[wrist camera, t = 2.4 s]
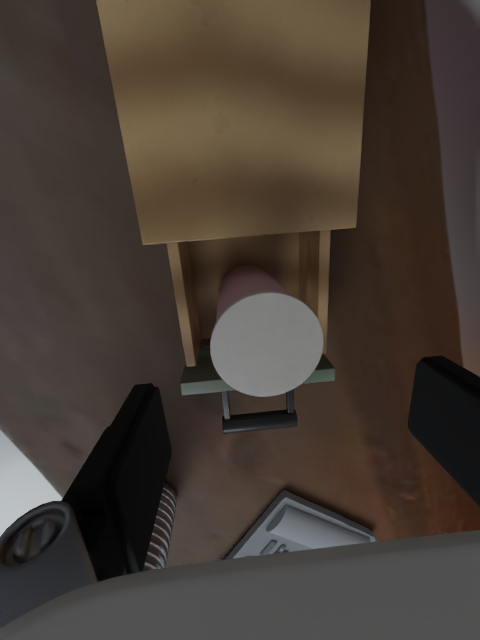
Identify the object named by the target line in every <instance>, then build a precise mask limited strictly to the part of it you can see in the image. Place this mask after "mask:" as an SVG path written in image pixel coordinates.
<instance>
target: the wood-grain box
mask: <svg viewBox="0 0 480 640" xmlns="http://www.w3.org/2000/svg"><path fill="white" fill-rule="evenodd" d="M96 2H97V7H98V13H99V18H100V23H101V28H102V34H103V39H104V44H105V49H106V55H107V60H108V65H109V70H110V76H111V81H112V86H113V91H114V97H115V102H116V107H117V112H118V118H119V123H120V128H121V133H122V139H123V144H124V149H125V154H126V160H127V165H128V170H129V175H130V181H131V186H132V191H133V196H134V202H135V207H136V212H137V217H138V223H139V228H140V233H141V238H142V244H143V245H151V244H163V243H175V242H187V241H199V240H211V239H224V238H236V237H248V236H260V235H272V234H285V233H297V232H309V231H321V230H333V229H345V228H355V227H356V222H357V207H358V191H359V176H360V160H361V145H362V129H363V114H364V98H365V83H366V67H367V52H368V36H369V21H370V5H371V0H96Z"/></svg>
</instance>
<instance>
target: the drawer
mask: <svg viewBox="0 0 480 640" xmlns="http://www.w3.org/2000/svg"><path fill="white" fill-rule="evenodd" d="M330 231H331V230H321V231H309V232H297V233H285V234H272V235H260V236H248V237H236V238H224V239H211V240H199V241H187V242H175V243H167V250H168V256H169V262H170V268H171V274H172V280H173V287H174V293H175V299H176V305H177V311H178V318H179V324H180V330H181V336H182V342H183V348H184V355H185V361H186V364H185V368H184V371H183V375H182V378H181V382H180V387H181V393H182V395H192V394H203V393H213V392H221V396H222V404H223V413H224V416H223V417H222V425H223V433H224V434H229V433H238V432H248V431H258V430H267V429H277V428H287V427H296V426H297V424H298V422H297V415H296V411H295V409H294V389H292V390H290V391H288V392H286V405H287V410H277V411H267V412H258V413H248V414H238V415H230V406H229V397H228V391H233V390H236V389H234V388H232V387H231V386H230V385H228V384H227V383H226V382H225V381H224V380H223V379H222V378H221V377H220V375H219V374H218V373H217V371H216V369H215V367H214V365H213V362H212V358H211V353H210V346H209V347H200V344H201V339H211V335H212V331H213V328H214V326H215V323H216V317H217V306H218V294H219V287H220V284H221V282H222V280H223V278H224V277H225V276H226V275H227V274H228V273H229V272H230V271H231V270H233V269H235V268H237V267H240V266H244V265H253V266H257V267H260V268H262V269H264V270H265V271H267V272H268V273H269V274H270V275H271V276H272V277H273V278H274V279H275V280H276V281H277V282H278V283H279V284H280V285H281V286H282V287H283V288H284V289H285V290H286V291H287V292H288V293H289V294H290V295H292V296H294V297H296V298H298V299H299V300H301V301H302V302H304V303H305V304H306V305H307V306H308V307H309V308H310V309H311V310H312V311H313V312H314V314H315V315H316V317H317V318H318V320H319V322H320V325H321V328H322V332H323V351H322V355H321V358H320V360H319V363H318V365H317V367H316V368H315V370H314V371H313V373H312V374H311V375H310V376H309V377H308V378H307V379H306V380H305V381H304V382H303V383H302V384H304V383H314V382H324V381H334V379H335V368H334V366H333V365H332V364H331V363H330V361H329V360H328V359H327V358H326V356H325V355H324V354H326V347H327V318H328V289H329V260H330Z"/></svg>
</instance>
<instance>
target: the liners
mask: <svg viewBox="0 0 480 640" xmlns="http://www.w3.org/2000/svg"><path fill="white" fill-rule="evenodd" d="M322 351H323V332H322V328H321V325H320V322H319V320H318V318H317V317H316V315H315V314H314V312H313V311H312V310H311V309H310V308H309V307H308V306H307V305H306V304H305V303H304V302H302V301H301V300H299V299H298V298H296V297H294V296H292V295H290V294H289V293H288V292H287V291H286V290H285V289H284V288H283V287H282V286H281V285H280V284H279V283H278V282H277V281H276V280H275V279H274V278H273V277H272V276H271V275H270V274H269V273H268V272H267V271H265V270H264V269H262V268H260V267H257V266H253V265H244V266H240V267H237V268H235V269H233V270H231V271H230V272H229V273H228V274H227V275H226V276H225V277H224V278H223V280H222V282H221V284H220V287H219V294H218V306H217V317H216V323H215V326H214V328H213V331H212V335H211V342H210V353H211V358H212V362H213V365H214V367H215V369H216V371H217V373H218V374H219V375H220V377H221V378H222V379H223V380H224V381H225V382H226V383H227V384H228V385H230V386H231V387H232V388H234V389H236V390H238V391H240V392H242V393H245V394H248V395H253V396H262V397H264V396H274V395H279V394H283V393H285V392H288V391H290V390H292V389H294V388H296V387H297V386H299V385H300V384H302V383H303V382H304V381H305V380H306V379H307V378H308V377H309V376H310V375H311V374H312V373H313V371H314V370H315V368H316V367H317V365H318V363H319V360H320V358H321V355H322Z"/></svg>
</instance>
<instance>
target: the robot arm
mask: <svg viewBox="0 0 480 640" xmlns="http://www.w3.org/2000/svg"><path fill="white" fill-rule="evenodd" d="M408 427H409V430H410V432H411V433H412V434H413V436H414V437H415V438H416V439H417V440H418V441H419V442H420V443H421V444H422V445H423V446H424V447H425V448H426V450H427V451H428V452H429V453H430V454H431V455H432V456H433V457H434V458H435V459H436V460H437V461H438V462H439V464H440V465H441V466H442V467H443V468H444V469H445V470H446V471H447V472H448V473H449V474H450V475H451V476H452V478H453V479H454V480H455V481H456V482H457V483H458V484H459V485H460V486H461V487H462V488H463V489H464V490H465V492H466V493H467V494H468V495H469V496H470V497H471V498H472V499H473V500H474V501H475V502H476V503H477V504H478V506H479V507H480V377H479V376H477V375H475V374H473V373H472V372H470V371H468V370H466V369H465V368H463V367H461V366H459V365H458V364H456V363H454V362H452V361H451V360H449V359H447V358H445V357H443V356H432V357H424V358H422V359H421V360H420V362H418V363H417V366H416V371H415V378H414V385H413V391H412V398H411V405H410V411H409V418H408ZM170 459H171V445H170V440H169V435H168V430H167V425H166V420H165V415H164V410H163V405H162V400H161V395H160V390H159V388H158V387H154V386H153V384H152V383H149V384H138V385H135V386H134V387H133V388H132V390H131V392H130V394H129V395H128V397H127V399H126V400H125V402H124V404H123V405H122V407H121V409H120V410H119V412H118V414H117V415H116V417H115V419H114V420H113V422H112V424H111V425H110V426H109V427H107V428H106V429H105V431H104V432H103V434H102V435H101V437H100V439H99V440H98V442H97V444H96V445H95V447H94V448H93V450H92V452H91V453H90V455H89V457H88V458H87V460H86V462H85V463H84V465H83V466H82V468H81V470H80V471H79V473H78V475H77V476H76V478H75V479H74V481H73V483H72V484H71V486H70V488H69V489H68V491H67V493H66V494H65V496H64V497H63V499H62V501H52V502H49V503H45V504H42V505H40V506H38V507H36V508H34V509H32V510H30V511H28V512H27V513H25V514H24V515H23V516H21V517H20V518H18V519H17V520H16V521H15V522H14V523H13V524H12V525H11V526H10V527H8V528H7V529H6V530H5V532H4V533H3V534H2V535H1V537H0V640H480V530H477V531H467V532H458V533H449V534H440V535H431V536H422V537H413V538H405V539H396V540H387V541H378V542H369V543H361V544H352V545H343V546H334V547H326V548H317V549H309V550H301V551H292V552H284V553H276V554H267V555H259V556H250V557H242V558H234V559H225V560H218V561H211V562H204V563H197V564H189V565H182V566H175V567H168V568H161V569H154V570H148V571H143V572H141V571H142V570H143V568H144V565H145V562H146V557H147V553H148V549H149V545H150V541H151V537H152V533H153V529H154V525H155V520H156V516H157V512H158V508H159V504H160V500H161V496H162V492H163V488H164V483H165V479H166V475H167V471H168V467H169V463H170ZM137 572H138V573H137Z"/></svg>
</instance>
